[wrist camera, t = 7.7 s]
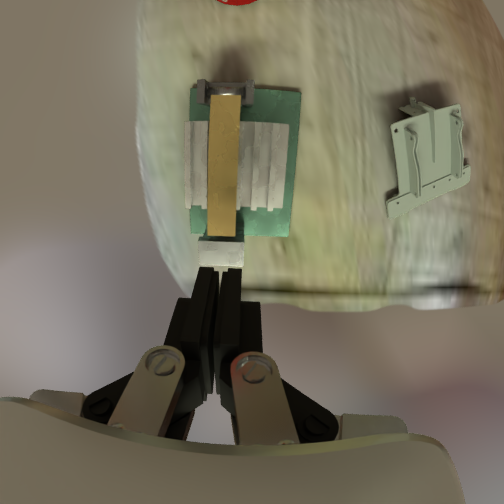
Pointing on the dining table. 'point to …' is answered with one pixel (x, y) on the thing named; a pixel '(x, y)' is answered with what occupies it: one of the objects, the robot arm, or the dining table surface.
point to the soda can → (236, 2)
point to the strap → (223, 159)
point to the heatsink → (244, 168)
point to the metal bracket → (427, 155)
